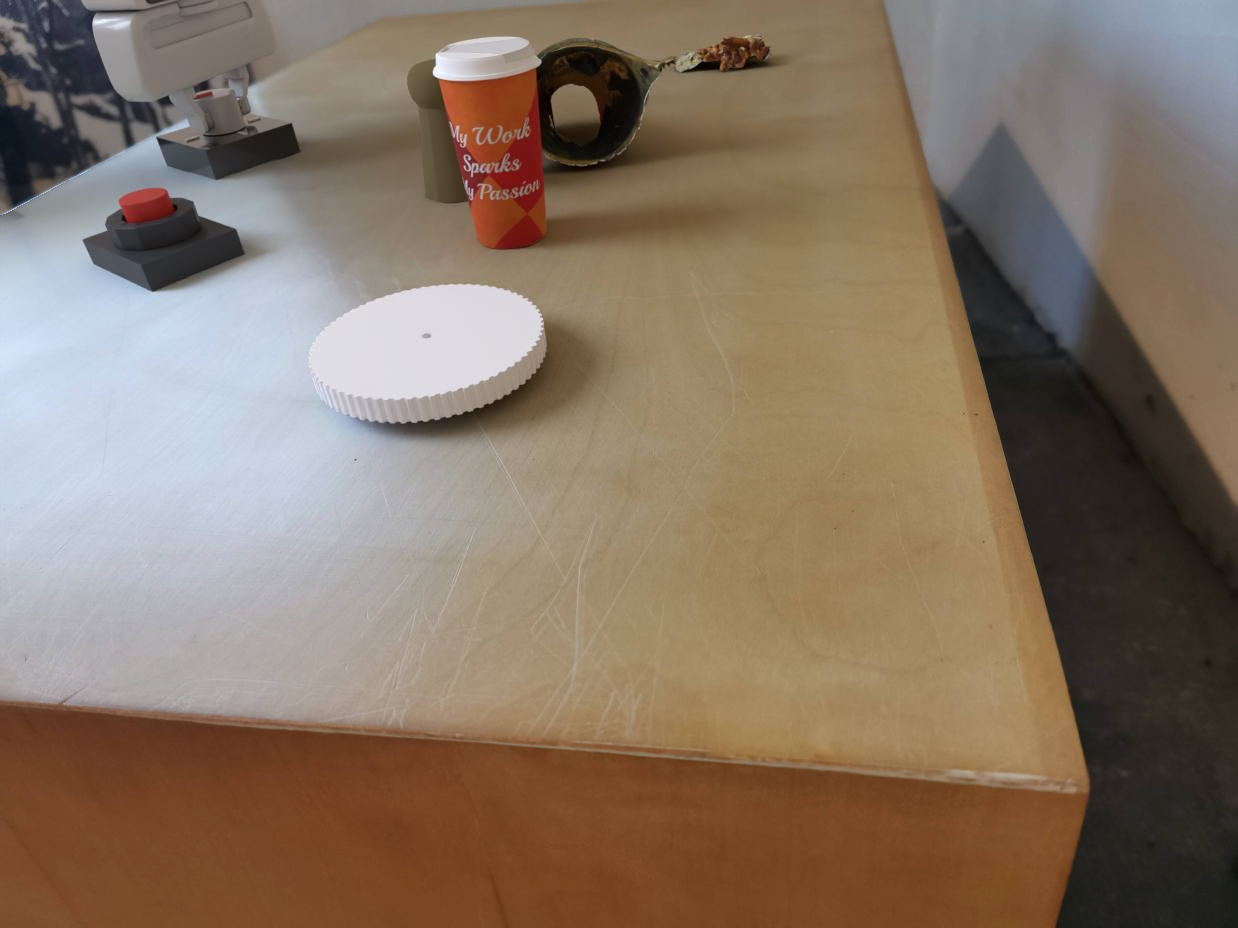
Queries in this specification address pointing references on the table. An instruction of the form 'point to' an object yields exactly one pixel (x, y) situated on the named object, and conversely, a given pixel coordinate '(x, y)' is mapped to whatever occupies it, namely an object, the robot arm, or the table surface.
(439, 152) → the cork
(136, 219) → the button
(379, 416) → the plastic lid
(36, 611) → the table surface
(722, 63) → the pastry
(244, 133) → the panel
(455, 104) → the paper cup
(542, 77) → the olive metal hollow piece
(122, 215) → the box
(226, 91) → the burner knob
